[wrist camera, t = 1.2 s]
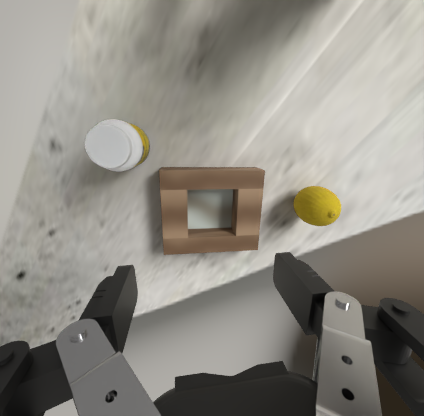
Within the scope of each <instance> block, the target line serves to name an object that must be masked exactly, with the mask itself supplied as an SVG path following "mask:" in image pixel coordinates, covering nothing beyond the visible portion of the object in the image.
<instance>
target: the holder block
mask: <svg viewBox="0 0 424 416" xmlns="http://www.w3.org/2000/svg"><path fill="white" fill-rule="evenodd" d="M264 175H265V171H264V170H262V169H259V168H256V167H161V169H160V170H159V178H160V195H161V213H162V231H163V249H164V255H168V254H188V253H207V252H226V251H246V250H258V241H259V230H260V219H261V208H262V197H263V186H264Z"/></svg>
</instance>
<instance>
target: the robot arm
mask: <svg viewBox="0 0 424 416" xmlns="http://www.w3.org/2000/svg"><path fill="white" fill-rule="evenodd" d="M273 280H274V284H275V287H276V288H277V290H278V291H279V293H280V295H281V296H282V298H283V299H284V301H285V303H286V304H287V306H288V307H289V309H290V310H291V312H292V314H293V315H294V317H295V318H296V320H297V322H298V323H299V325H300V326H301V328H302V329H303V331H304V333H305V334H306V335H312V334H316V335H317V337H318V340H317V346H316V355H315V364H314V372H313V380H312V379H309V378H308V377H306V376H304V375H301V374H298V373H295V372H291V371H287V369H286V367H285V365H284V363H283V361H279V362H273V363H266V364H260V365H256V366H254V367H252V368H249V369H247V370H245V371H243V372H241V373H239V374H237V375H234V376H224V375H216V374H208V373H199V374H192V375H185V376H179V377H175V388H173V389H171V390H169V391H167V392H166V393H164V394H163V395H161V396H160V397H159V398H157V399H156V400H155V401H154V402H152V400H151V399H150V397H149V396H148V394H147V393H146V391H145V389H144V388H143V386H142V385H141V383H140V382H139V380H138V378H137V377H136V375H135V374H134V372H133V370H132V369H131V367H130V366H129V364H128V363H127V361H126V359H125V358H124V356H123V355H122V352H123V349H124V346H125V342H126V338H127V334H128V331H129V328H130V323H131V320H132V317H133V313H134V309H135V306H136V302H137V295H138V291H137V283H136V276H135V269H134V266H133V265H126V266H118V267H117V269H116V271H115V273H114V275H113V276H109V277H106V278H105V279H104V280H103V281H102V282H101V283H100V284H99V285H98V287H97V289H96V291H95V292H94V294H93V296H92V299H90V301H89V303H88V305H87V306H86V308H85V310H84V312H83V313H82V315H81V317H80V319H79V320H78V321H76V322H74V323H72V324H70V325H69V326H67V327H66V328H65V329H64V330H63V331H62V332H61V333H60V334H59V335H58V337H57V340H55V341H52V342H49V343H47V344H44V345H41V346H38V347H35V348H32V349H30V347H29V344H28V343H27V342H25V341H14V342H10V343H7V344H5V345H3V346H1V347H0V416H43V415H44V413H45V411H46V410H48V409H51V408H53V407H55V406H57V405H59V404H61V403H63V402H66V401H68V400H70V399H72V398H73V400H74V403H75V406H76V409H77V412H78V415H79V416H382V413H381V406H380V399H379V393H378V386H377V379H376V372H375V365H376V367H377V368H378V369H379V371H380V372H381V373H382V374H383V375H384V377H385V378H386V379H387V381H388V382H389V383H390V384H391V386H392V387H393V388H394V389H395V391H396V392H397V393H398V394H399V396H400V397H401V398H402V399H403V401H404V402H405V403H406V404H407V406H408V407H409V408H410V410H411V411H412V412H413V413H414V415H415V416H424V370H422V368H421V367H419V365H418V364H417V363H416V362H415V361H414V360H413V359H412V358H411V357H410V354H411V352H412V350H413V351H414V352H415V353H416V354H417V355H418V356H419V357H420V358H421V359H422V360H423V361H424V314H422V313H421V312H420V311H419V310H417V309H416V308H414V307H413V306H411V305H410V304H408V303H406V302H403V301H401V300H397V299H393V298H384V299H382V300H381V301H380V304H379V307H372V306H364V305H360V303H359V302H358V301H357V300H356V299H355V298H353V297H352V296H350V295H347V294H345V293H342V292H335V291H334V290H333V289H332V288H331V287H330V286H329V285H328V284H327V283H326V282H325V281H324V280H323V279H322V278H321V277H320V276H318V274H317V273H316V272H315V271H314V270H313V269H312V268H311V267H310V266H309V265H307V264H306V263H304V262H302V261H300V260H297V259H296V258H295V257H294V256H293V255H292V254H291V253H290V252H285V253H276V255H275V261H274V273H273ZM374 364H375V365H374Z"/></svg>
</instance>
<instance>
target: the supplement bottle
mask: <svg viewBox="0 0 424 416" xmlns="http://www.w3.org/2000/svg"><path fill="white" fill-rule="evenodd" d="M85 150H86V152H87V154H88V156H89V158H90V159H91V160H92V161H93V162H94V163H96V164H97V165H99V166H101V167H104V168H105V169H108V170H111V171H118V172H119V171H126V170H129V169H131V168H133V167H135V166H137V165H139V164H140V163H142V162H143V161H144V160H145V159H146V158H147V156H148V154H149V150H150V143H149V140H148V137H147V135H146V134H145V133H144V131H143V130H142V129H140V128H139V127H137V126H135V125H133V124H130V123H127V122H125V121H122V120H118V119H108V120H104V121H101V122H99V123H98V124H96V125H95V126H94V127H93V128H92V129H91V130H90V131H89V132H88V133H87V135H86V138H85Z"/></svg>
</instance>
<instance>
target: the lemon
mask: <svg viewBox="0 0 424 416" xmlns="http://www.w3.org/2000/svg"><path fill="white" fill-rule="evenodd" d="M294 210H295V212H296V214H297V215H298V217H300V218H301V219H302V220H303V221H304V222H306V223H308V224H311V225H315V226H326V225H329V224H331V223H333V222H334V221H335V220H336V219H337V218H338V217H339V215H340V212H341V204H340V201H339V199H338V198H337V196H336V195H335V194H334V193H332V192H331V191H330V190H328V189H326V188H323V187H319V186H311V187H306V188H304V189H302V190H301V191H300V192H299V193H298V194H297V195H296V197H295V199H294Z"/></svg>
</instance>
